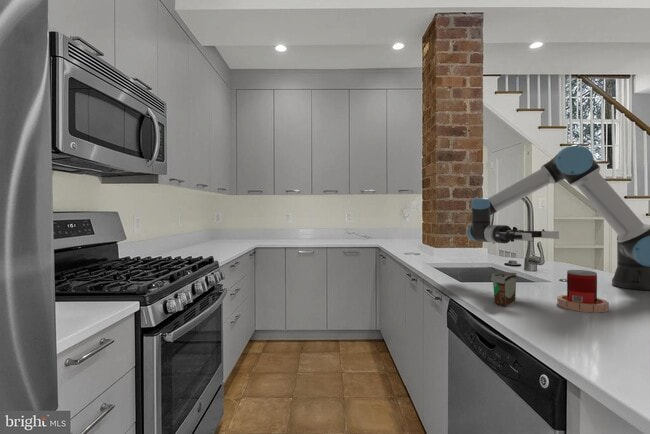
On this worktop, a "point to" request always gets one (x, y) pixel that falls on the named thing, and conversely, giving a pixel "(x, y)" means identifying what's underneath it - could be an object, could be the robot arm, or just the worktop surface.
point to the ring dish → (583, 305)
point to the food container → (504, 288)
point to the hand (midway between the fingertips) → (544, 236)
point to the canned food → (582, 286)
